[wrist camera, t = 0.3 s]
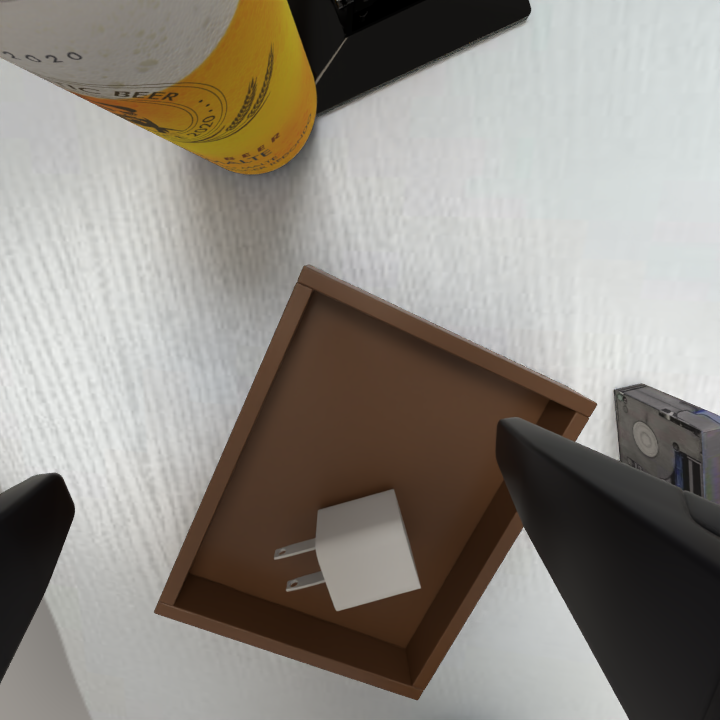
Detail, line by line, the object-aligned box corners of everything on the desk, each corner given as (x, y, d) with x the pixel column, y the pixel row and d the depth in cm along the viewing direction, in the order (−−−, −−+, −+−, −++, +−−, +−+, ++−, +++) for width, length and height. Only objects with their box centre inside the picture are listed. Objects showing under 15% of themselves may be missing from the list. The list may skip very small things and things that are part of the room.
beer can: (177, 158, 20) (-291, -42, 6) (195, 10, 19) (-378, -746, 4) (303, 191, 21) (145, 76, 6) (332, 48, 19) (212, -551, 5)
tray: (409, 656, 28) (417, 701, 25) (173, 574, 26) (152, 613, 23) (567, 386, 24) (598, 404, 21) (308, 264, 22) (303, 265, 19)
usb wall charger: (409, 543, 25) (422, 595, 22) (295, 575, 26) (288, 632, 22) (392, 483, 24) (402, 526, 21) (274, 516, 25) (262, 565, 21)
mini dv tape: (650, 510, 26) (740, 583, 20) (625, 516, 26) (708, 590, 20) (640, 382, 24) (736, 422, 18) (613, 388, 24) (701, 430, 18)
